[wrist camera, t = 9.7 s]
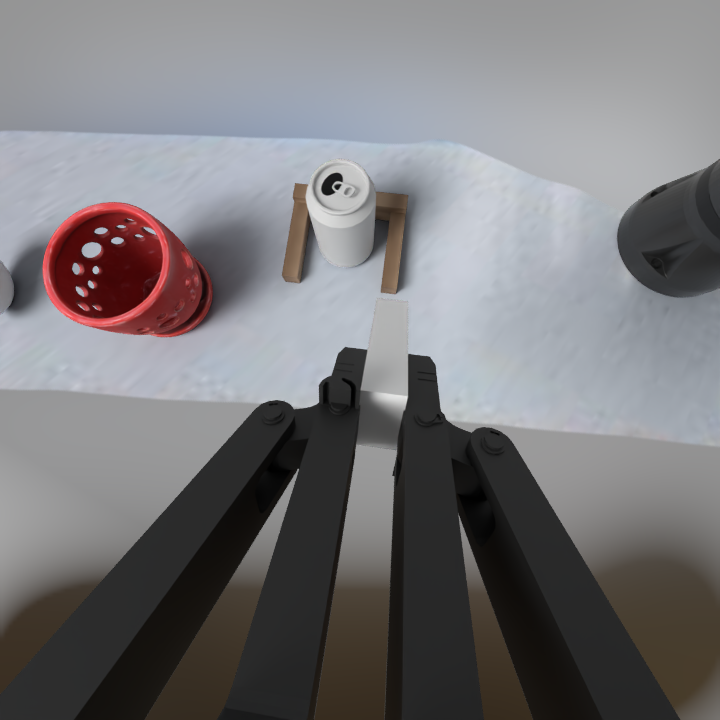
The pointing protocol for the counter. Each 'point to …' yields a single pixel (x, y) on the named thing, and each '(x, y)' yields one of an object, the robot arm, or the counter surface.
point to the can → (342, 212)
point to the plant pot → (126, 274)
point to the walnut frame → (386, 209)
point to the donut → (5, 288)
